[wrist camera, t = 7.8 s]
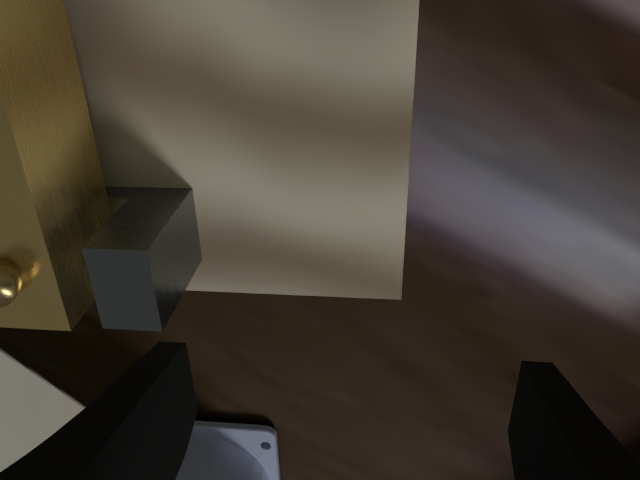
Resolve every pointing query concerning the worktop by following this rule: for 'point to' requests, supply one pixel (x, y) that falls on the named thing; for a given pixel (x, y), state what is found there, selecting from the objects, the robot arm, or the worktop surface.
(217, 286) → the jig board
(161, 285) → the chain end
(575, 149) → the worktop surface
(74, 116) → the master link
